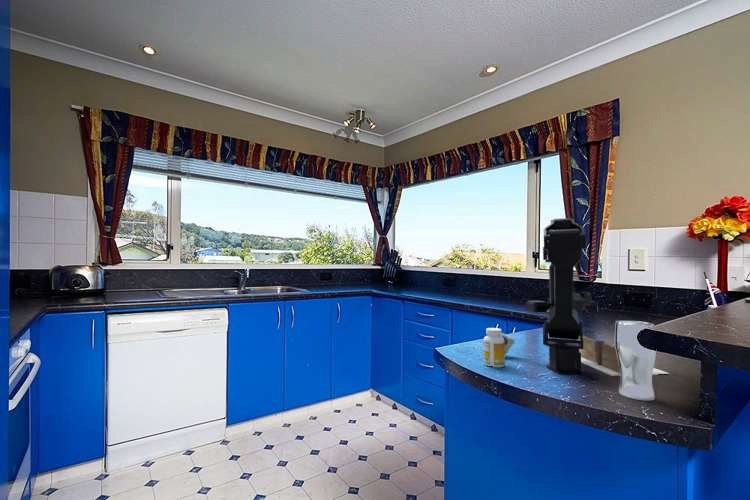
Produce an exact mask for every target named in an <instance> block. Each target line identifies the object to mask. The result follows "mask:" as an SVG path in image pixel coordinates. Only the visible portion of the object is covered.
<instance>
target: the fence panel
mask: <svg viewBox="0 0 750 500" xmlns="http://www.w3.org/2000/svg"><path fill="white" fill-rule="evenodd" d="M578 340H579V339H578ZM597 341H598V340H596V339H594V338H591V337H587V336H584V335H583V349H579V352H580V353H581V356H583V357H585V358H588V359H590V360H592V361H595V362H597Z"/></svg>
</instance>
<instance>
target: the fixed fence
mask: <svg viewBox="0 0 750 500" xmlns="http://www.w3.org/2000/svg"><path fill="white" fill-rule="evenodd" d="M597 364H598V365H601V366H603V367H606V368H608V369H611V370H613V371H615V372H618V373H620V368H619V363H618V359H617V354H616V349H615V345H612V344H609V343H605V341H604V340H597Z"/></svg>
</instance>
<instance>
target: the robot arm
mask: <svg viewBox="0 0 750 500" xmlns="http://www.w3.org/2000/svg"><path fill="white" fill-rule="evenodd" d="M586 238H587V237H586V233H585V228H584V227H583V226H582V225H579V224H578V223H576V222H575V221H574V218H570V217H566V218H553V219H551V220H550V224H548V225H547V226H545V227H544V228H543V247H542V259H543V261H545V263H550V264H549V266H548V276H549V278H548V279H549V283H548V284H546V285H547V286H546V289H549V298H547V300H546V301H542V300H527V301H526V303H525V310H526V311H530V312H533V313H545V314H547V315H548V316H547V317H548V319H546V320H545V322H544V323H543V325H542V345H543V346H545V347H548V354H549V355H548V359H549V361H548V363H549V364H546V365H545V367H546V368H547V369H550V370H552V372H553V371H554V373H558V374H560V375H563V374H565V375H566V374H567V375H571V374H572V375H574V374H575V375H576V374H577V375H578V374H584V373H585V371H584V370H582V362H581V353H580V352H579V349H583V336H584V335H583V326H582V322H580V321H579V312H578V311H581V312H582V311H584V310H585V311H586V312H589V313H592V312H593V313H598V312H599V306H598V304H597V302H596V301H592V300H593V299H592V293H590V292H589V291H584V292H583V291H582V292H581V293H579V292H576V288H575V286H574V267H576V265H577V264H579V262H580V261H581V260H582V259H583V258H582V257H583V250H586V246H587V245H586V243H587V242H586V241H587V240H586ZM578 339H579V340H578Z"/></svg>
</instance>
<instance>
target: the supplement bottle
mask: <svg viewBox="0 0 750 500" xmlns="http://www.w3.org/2000/svg"><path fill="white" fill-rule="evenodd" d="M485 330H486V331H485V332H486V335H485V336H484V337H483V363H485V364H486V365H489V366H493V367H492V368H503V367H505V366H506V355H505V343H504V339H503V338H502V337H501V335H502V333H503V332H502V329H501V328H497V327H487V328H486V329H485ZM485 364H484V365H485ZM486 365H485V366H486ZM489 366H488V367H489Z"/></svg>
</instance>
